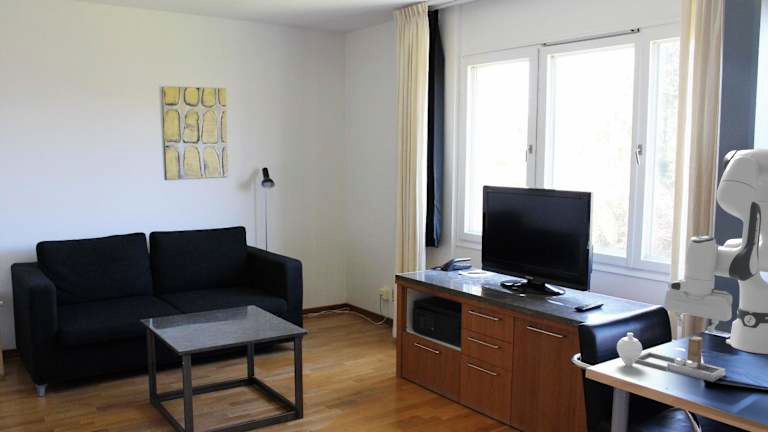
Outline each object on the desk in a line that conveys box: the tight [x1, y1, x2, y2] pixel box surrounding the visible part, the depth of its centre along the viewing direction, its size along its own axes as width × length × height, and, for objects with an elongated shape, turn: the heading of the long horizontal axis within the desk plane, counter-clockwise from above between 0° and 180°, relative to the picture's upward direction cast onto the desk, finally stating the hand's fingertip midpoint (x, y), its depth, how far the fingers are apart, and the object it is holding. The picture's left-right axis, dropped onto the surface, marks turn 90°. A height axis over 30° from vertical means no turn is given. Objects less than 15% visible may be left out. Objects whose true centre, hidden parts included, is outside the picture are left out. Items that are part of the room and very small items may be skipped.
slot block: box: [666, 358, 726, 383], centre depth 211 cm, size 9×14×4 cm, turn 42°
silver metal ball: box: [685, 360, 698, 369], centre depth 212 cm, size 3×3×3 cm
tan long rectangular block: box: [686, 336, 704, 363], centre depth 219 cm, size 4×2×10 cm, turn 132°
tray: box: [634, 351, 676, 371], centre depth 220 cm, size 11×11×3 cm
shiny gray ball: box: [673, 356, 687, 366], centre depth 214 cm, size 3×3×3 cm
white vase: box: [616, 332, 643, 367], centre depth 216 cm, size 8×8×12 cm
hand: (695, 329), depth 218 cm, fingers open, 8 cm apart
